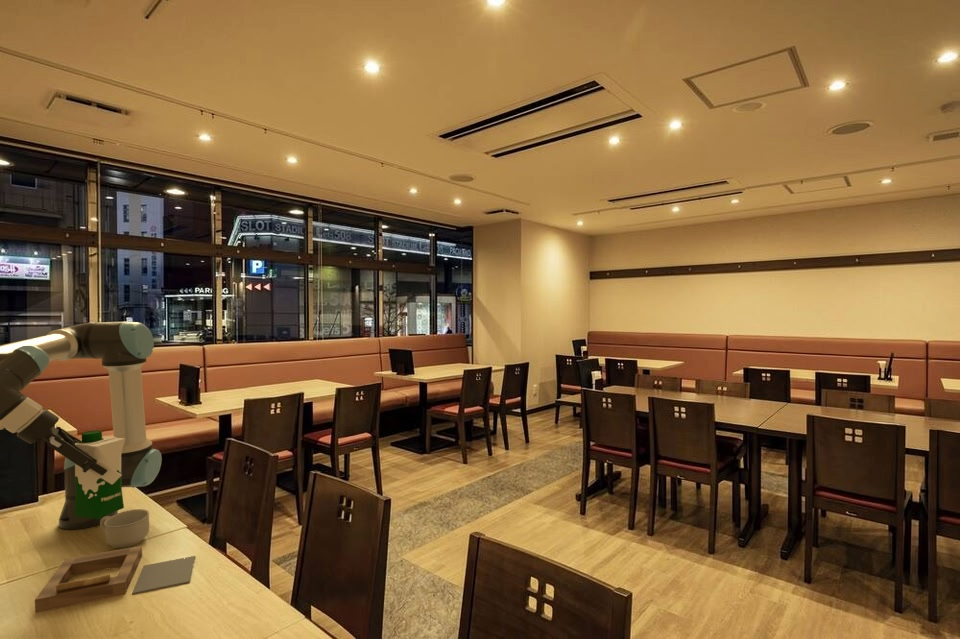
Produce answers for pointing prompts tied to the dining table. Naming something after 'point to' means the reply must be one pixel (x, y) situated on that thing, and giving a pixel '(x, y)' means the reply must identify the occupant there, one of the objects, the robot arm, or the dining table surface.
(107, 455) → the soya milk
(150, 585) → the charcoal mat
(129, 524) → the teacup
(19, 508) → the dining table surface
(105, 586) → the frame
